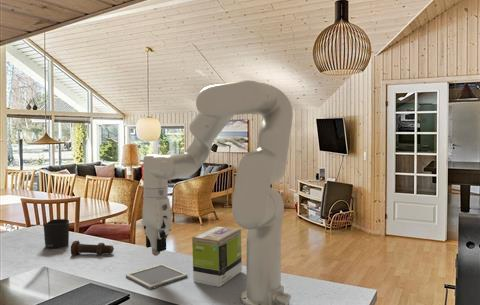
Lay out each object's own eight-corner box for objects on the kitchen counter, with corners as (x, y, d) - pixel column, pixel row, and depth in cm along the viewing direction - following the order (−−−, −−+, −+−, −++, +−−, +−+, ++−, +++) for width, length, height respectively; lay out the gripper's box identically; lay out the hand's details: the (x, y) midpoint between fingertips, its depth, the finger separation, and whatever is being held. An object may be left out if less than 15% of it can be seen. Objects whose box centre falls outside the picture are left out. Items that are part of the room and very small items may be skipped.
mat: (187, 276, 129) (187, 274, 129) (150, 289, 119) (150, 286, 119) (162, 266, 138) (162, 263, 138) (125, 277, 128) (125, 274, 128)
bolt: (111, 260, 151) (72, 258, 151) (115, 250, 155) (77, 248, 155) (109, 249, 148) (69, 247, 148) (113, 239, 152) (74, 237, 152)
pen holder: (41, 245, 163) (40, 221, 163) (65, 241, 169) (64, 218, 169) (47, 250, 156) (47, 225, 155) (72, 246, 162) (72, 222, 161)
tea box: (216, 267, 138) (216, 225, 137) (242, 272, 133) (242, 228, 132) (191, 282, 124) (191, 235, 124) (219, 288, 120) (219, 239, 119)
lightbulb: (161, 259, 125) (160, 224, 124) (143, 258, 126) (142, 223, 125) (168, 253, 131) (168, 220, 130) (151, 252, 132) (150, 219, 131)
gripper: (181, 194, 124) (181, 252, 125) (150, 188, 136) (151, 240, 137) (161, 197, 118) (161, 257, 119) (130, 190, 130) (131, 245, 131)
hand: (156, 248), depth 128 cm, fingers closed on lightbulb, 5 cm apart
